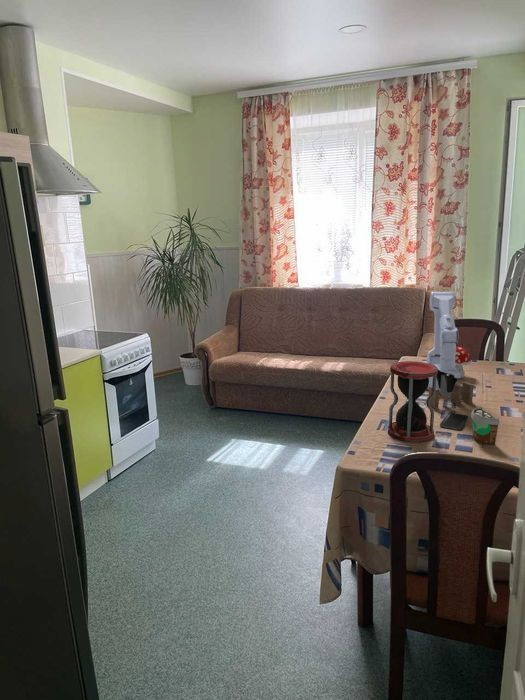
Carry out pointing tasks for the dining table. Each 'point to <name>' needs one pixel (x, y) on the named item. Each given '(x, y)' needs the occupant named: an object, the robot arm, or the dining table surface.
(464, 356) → the decorative mushroom
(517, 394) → the dining table surface
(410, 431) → the hourglass
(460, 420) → the phone
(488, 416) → the food container
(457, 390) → the domino
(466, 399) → the domino
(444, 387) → the domino
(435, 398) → the domino
